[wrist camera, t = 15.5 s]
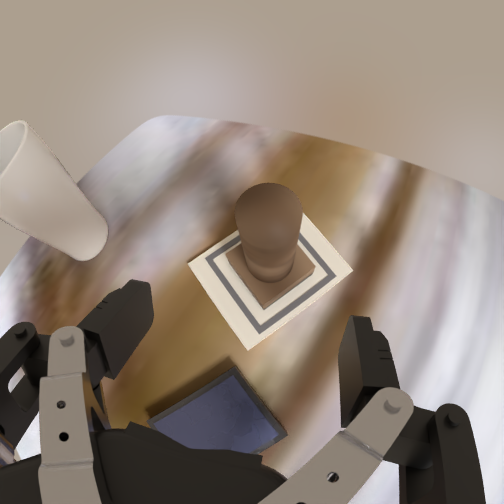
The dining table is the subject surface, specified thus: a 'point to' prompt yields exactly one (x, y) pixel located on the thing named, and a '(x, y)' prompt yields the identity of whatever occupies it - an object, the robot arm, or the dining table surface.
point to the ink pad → (221, 418)
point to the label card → (243, 302)
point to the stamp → (269, 243)
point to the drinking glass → (45, 196)
